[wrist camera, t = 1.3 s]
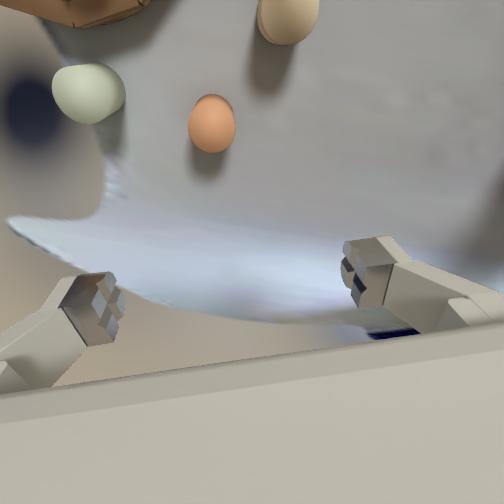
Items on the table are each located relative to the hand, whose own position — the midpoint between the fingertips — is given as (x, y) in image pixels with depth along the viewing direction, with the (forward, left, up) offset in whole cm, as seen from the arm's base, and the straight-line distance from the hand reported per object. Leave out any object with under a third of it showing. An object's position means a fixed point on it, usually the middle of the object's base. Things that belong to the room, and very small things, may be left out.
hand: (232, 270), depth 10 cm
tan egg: (-7, -7, -23) cm, 25 cm away
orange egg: (+1, -1, -23) cm, 23 cm away
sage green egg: (+10, -6, -23) cm, 26 cm away
